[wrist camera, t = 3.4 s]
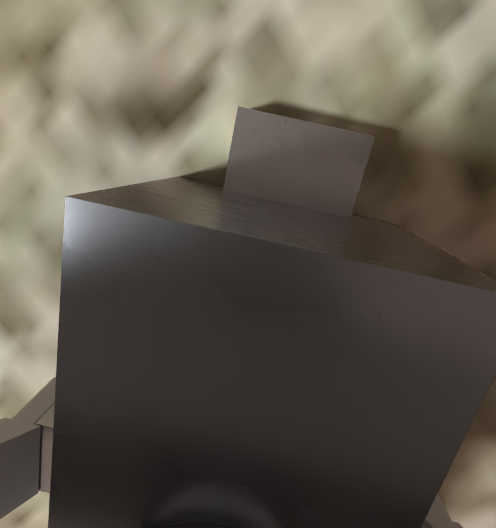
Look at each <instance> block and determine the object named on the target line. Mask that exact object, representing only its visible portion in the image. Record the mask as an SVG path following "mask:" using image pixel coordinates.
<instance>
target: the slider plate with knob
mask: <svg viewBox="0 0 496 528" xmlns="http://www.w3.org/2000/svg"><path fill="white" fill-rule="evenodd" d="M374 139H375V136H373V135H369V134H364V133H359V132H355V131H350V130H346V129H341V128H336V127H332V126H327V125H322V124H318V123H313V122H309V121H304V120H299V119H295V118H290V117H285V116H281V115H276V114H272V113H267V112H262V111H258V110H253V109H248V108H244V107H239V106H238V110H237V116H236V121H235V127H234V132H233V137H232V143H231V148H230V154H229V159H228V165H227V170H226V176H225V181H224V186H220V185H216V184H211V183H207V182H202V181H197V180H193V179H188V178H184V177H173V178H168V179H162V180H156V181H151V182H145V183H139V184H133V185H128V186H122V187H116V188H111V189H105V190H99V191H94V192H88V193H82V194H76V195H71V196H66V198H65V217H64V236H63V255H62V274H61V293H60V312H59V331H58V350H57V369H56V388H55V406H54V425H53V444H52V463H51V482H50V501H49V520H48V528H421V526H422V524H423V522H424V520H425V518H426V516H427V514H428V512H429V510H430V508H431V506H432V504H433V502H434V500H435V498H436V495H437V493H438V491H439V489H440V487H441V485H442V483H443V481H444V479H445V477H446V475H447V473H448V471H449V469H450V467H451V465H452V463H453V460H454V458H455V456H456V454H457V452H458V450H459V448H460V446H461V444H462V442H463V440H464V438H465V436H466V434H467V432H468V430H469V428H470V425H471V423H472V421H473V419H474V417H475V415H476V413H477V411H478V409H479V407H480V405H481V403H482V401H483V399H484V397H485V395H486V393H487V390H488V388H489V386H490V384H491V382H492V380H493V378H494V376H495V374H496V280H495V279H493V278H491V277H489V276H487V275H486V274H484V273H482V272H480V271H478V270H477V269H475V268H473V267H471V266H469V265H468V264H466V263H464V262H462V261H460V260H458V259H457V258H455V257H453V256H451V255H449V254H448V253H446V252H444V251H442V250H440V249H439V248H437V247H435V246H433V245H431V244H430V243H428V242H426V241H424V240H422V239H420V238H419V237H417V236H415V235H413V234H411V233H410V232H408V231H406V230H404V229H402V228H401V227H399V226H397V225H395V224H393V223H388V222H384V221H379V220H375V219H370V218H366V217H361V216H357V215H352V213H353V209H354V206H355V203H356V199H357V196H358V193H359V189H360V186H361V182H362V179H363V176H364V172H365V169H366V166H367V162H368V159H369V156H370V152H371V149H372V145H373V142H374Z"/></svg>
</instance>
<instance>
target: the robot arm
mask: <svg viewBox="0 0 496 528" xmlns="http://www.w3.org/2000/svg"><path fill="white" fill-rule="evenodd" d="M55 388H56V377H55V378H53V379H52V380H51V381H50V382H49V383H48V384H47V385H46V386H45V387H44V388H43V389H42V390H40V391H39V392H38V393H37V394H36V395H35V396H34V397H33V398H32V399H31V400H30V401H29V402H28V403H27V404H26V405H25V406H24V407H23V408H22V409H21V410H20V411H19V412H18V413H17V414H16V415H15V416H14V417H13V418H12V419H9V418H3V419H0V519H1V518H2V517H4V516H5V515H7V514H8V513H10V512H11V511H13V510H14V509H15V508H17V507H18V506H20V505H21V504H23V503H24V502H26V501H27V500H29V499H30V498H31V497H33V496H34V495H36V494H37V493H38V491H43V492H48V493H50V482H51V463H52V444H53V425H54V406H55ZM421 528H463V527H462V526H461V525H460V524H459V523H457V522H452V520H451V518H450V516H449V514H448V512H447V510H446V508H445V506H444V504H443V502H442V500H441V498H440V496H439V494H438V493H437V495H436V498H435V500H434V502H433V504H432V506H431V508H430V510H429V512H428V514H427V516H426V518H425V520H424V522H423V524H422V526H421Z"/></svg>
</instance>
